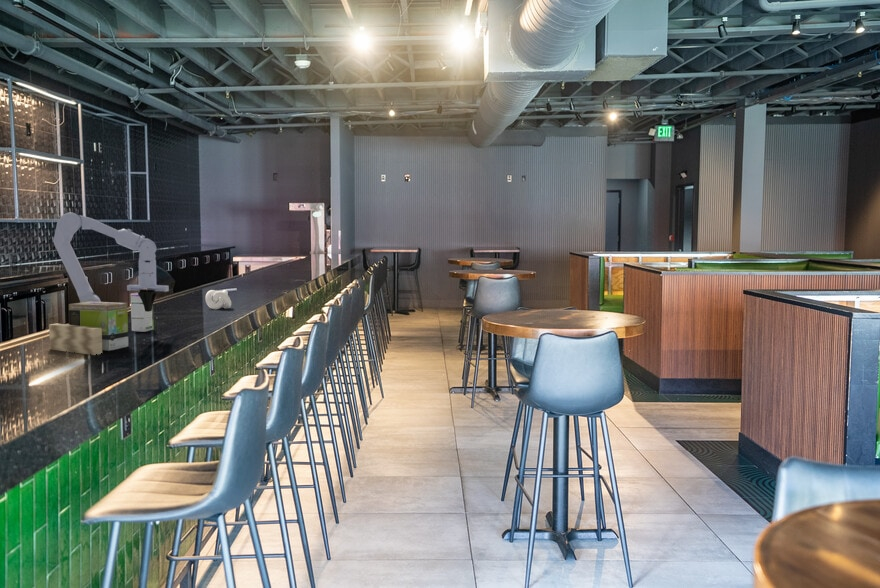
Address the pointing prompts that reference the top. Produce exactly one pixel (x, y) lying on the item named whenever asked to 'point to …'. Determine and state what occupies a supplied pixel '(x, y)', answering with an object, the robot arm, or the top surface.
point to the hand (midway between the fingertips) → (148, 311)
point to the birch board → (75, 338)
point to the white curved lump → (218, 299)
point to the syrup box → (140, 315)
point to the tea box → (103, 321)
